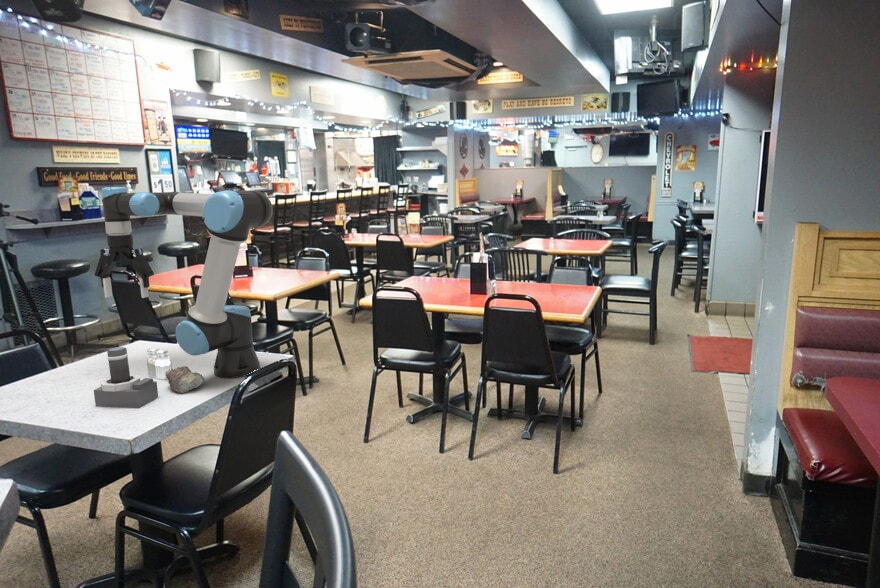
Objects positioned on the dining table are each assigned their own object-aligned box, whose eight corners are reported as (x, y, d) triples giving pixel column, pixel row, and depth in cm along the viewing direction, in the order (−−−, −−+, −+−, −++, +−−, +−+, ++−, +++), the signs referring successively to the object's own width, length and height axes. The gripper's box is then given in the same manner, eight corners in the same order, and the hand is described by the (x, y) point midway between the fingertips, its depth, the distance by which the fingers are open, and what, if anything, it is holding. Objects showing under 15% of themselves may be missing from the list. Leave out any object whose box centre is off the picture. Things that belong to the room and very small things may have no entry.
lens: (135, 382, 176) (130, 346, 174) (123, 388, 171) (118, 351, 169) (120, 382, 177) (115, 346, 175) (107, 388, 172) (102, 351, 170)
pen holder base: (159, 396, 178) (156, 375, 177) (138, 408, 169) (135, 386, 167) (117, 394, 180) (115, 373, 179) (94, 406, 171) (91, 384, 169)
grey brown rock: (211, 381, 183) (189, 357, 180) (185, 402, 179) (163, 378, 176) (202, 377, 195) (181, 355, 192) (178, 397, 191) (157, 374, 188)
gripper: (160, 233, 195) (167, 295, 199) (93, 233, 199) (101, 294, 203) (146, 234, 188) (153, 299, 192) (77, 235, 192) (85, 298, 195)
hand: (127, 297), depth 197 cm, fingers open, 13 cm apart
